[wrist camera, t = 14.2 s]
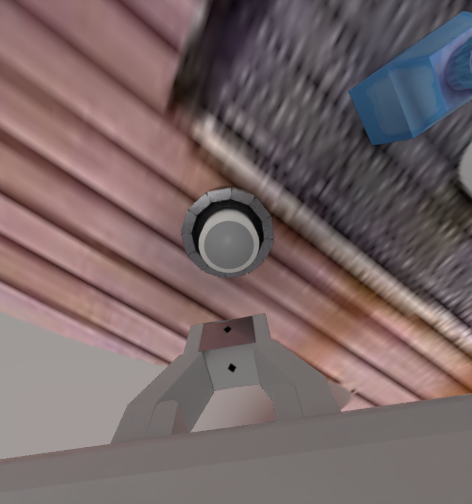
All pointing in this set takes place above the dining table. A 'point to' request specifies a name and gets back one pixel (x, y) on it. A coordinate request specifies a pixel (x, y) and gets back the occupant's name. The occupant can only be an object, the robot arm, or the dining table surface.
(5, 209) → the dining table surface
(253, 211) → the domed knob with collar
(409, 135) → the perfume bottle
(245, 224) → the cap
